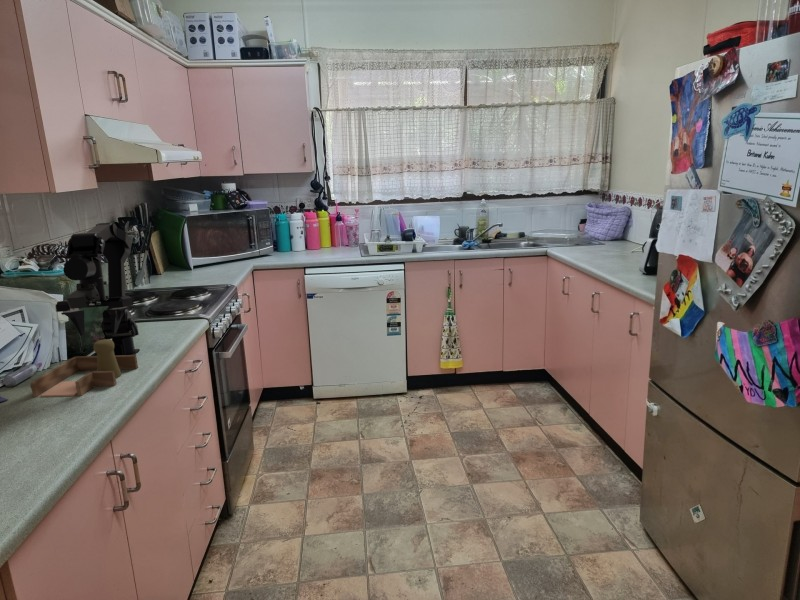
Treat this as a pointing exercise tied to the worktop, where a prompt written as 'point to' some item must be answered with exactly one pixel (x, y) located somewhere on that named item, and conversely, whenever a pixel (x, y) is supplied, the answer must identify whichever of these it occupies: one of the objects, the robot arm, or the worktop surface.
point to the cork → (106, 357)
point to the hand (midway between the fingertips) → (98, 334)
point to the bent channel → (86, 381)
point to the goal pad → (62, 389)
